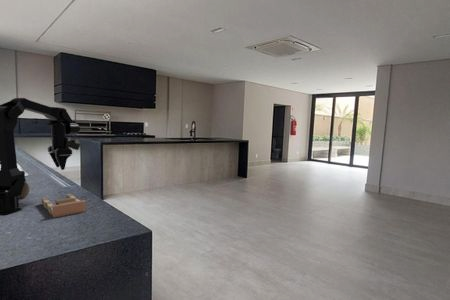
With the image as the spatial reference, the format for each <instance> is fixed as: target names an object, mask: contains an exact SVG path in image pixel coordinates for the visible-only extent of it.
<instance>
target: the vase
mask: <svg viewBox="0 0 450 300" xmlns="http://www.w3.org/2000/svg"><path fill="white" fill-rule="evenodd" d="M29 194H30V186H29V184H28V182H27V181H25V185H24V187H23V190H22V193H21V195H19V196H17V197H18V200H19V199H24V198H27V197H28V195H29Z"/></svg>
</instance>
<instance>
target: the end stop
mask: <svg viewBox="0 0 450 300" xmlns="http://www.w3.org/2000/svg"><path fill="white" fill-rule="evenodd" d="M53 205H54V204H53ZM52 210H53V216H52V218H58V217H59V218H60V217H63V216H68V215H73V214H74V215H75V214H77V213H78V214H79V213H83V212H84V213H85V212H87V201H86V200H85V199H83V200H80V201H77V202H71V203H66V204H60V205H56V204H55V205H54V206H52Z"/></svg>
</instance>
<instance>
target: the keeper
mask: <svg viewBox="0 0 450 300" xmlns="http://www.w3.org/2000/svg"><path fill="white" fill-rule="evenodd" d="M71 202H77V201H76V200H75V199H73V198H67V197H66V198H62V199H56V200H55V205H60V204H66V203H71Z"/></svg>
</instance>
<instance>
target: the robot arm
mask: <svg viewBox="0 0 450 300" xmlns="http://www.w3.org/2000/svg"><path fill="white" fill-rule="evenodd" d="M25 111H28V112H32V113H35V114H40V115H42V116H44V117H45V119H46V118H47V119H48V120H49V122H47V124H46V125H47V126H50V130H51V132H50V133H51V136H50V140H51V145H49V146H48V147H47V152H48V154H49V156H50V158H51V159H52V162H53V163H54V165H55V167H56V168H60V169H61V170H62V171H63V170H65V169H66V164H67V161H68V159H69V158H70V157H71V156H72V155H73V150H77V151H79V148H80V147H81V146H80V145H81V143H78V142H76V141H75V140H74V139H70V140H69V137H67V136H68V135H77V134H79V133H80V130H81V128H80V126H79V124H78V123H77V120H72V118H71V116H70V114H69V112H68V110H67V109H66V108H64V107H55V106H49V105H45V104H44V103H43V104H42V103H39V102H37V101H33V100H31V99H29V98H25V97H14V98H12V99H11V100H9V101H7V102H4V103H1V104H0V215H9V214H13V213H15V212H18V211H21V210H22V209H23V208H22V207H20V205H19V199H18V197H17V196H19V195H21V193H22V190H23V187H24V185H25V182H27V180H26V173H25V170H20V169H19V168H18V162H17V153H16V150H17V149H16V141H15V133H14V132H15V131H14V130H15V128H16V126H17V125H18V122H19V121H18V119H19V118H18V117H20V116H21V115H22V114H24V112H25Z"/></svg>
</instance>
